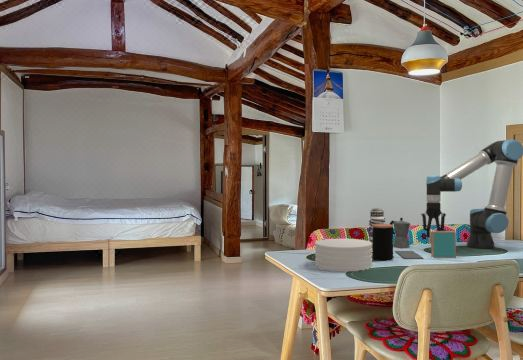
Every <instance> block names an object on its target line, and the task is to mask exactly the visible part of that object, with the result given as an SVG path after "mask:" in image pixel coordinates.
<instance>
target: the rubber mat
mask: <svg viewBox="0 0 523 360" xmlns="http://www.w3.org/2000/svg"><path fill="white" fill-rule="evenodd" d="M394 252H395V254H397V255H398V256H400V257H401V258H402V259H403V260H424V257H423V256H422V255H419V254H418V253H417V252H415V251H414V250H394Z"/></svg>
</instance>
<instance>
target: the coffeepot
mask: <svg viewBox="0 0 523 360" xmlns="http://www.w3.org/2000/svg"><path fill="white" fill-rule="evenodd" d="M399 219H400V220H398V221H396V220H391V221H390V223H389V224H390V225H393V227H392V229H393V235H395V237H394V240H393V248H395V249H396V248H397V249H408V248H410V241H409V237H408V234H409V229H410V227H411V223H410V222H408V221H404V220H403V217H400V218H399Z"/></svg>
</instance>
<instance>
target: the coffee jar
mask: <svg viewBox="0 0 523 360" xmlns="http://www.w3.org/2000/svg"><path fill="white" fill-rule="evenodd" d="M372 226H373V230H372V236H373V253H372V259H374V258H375V259H374V260H376V259H379V260H378V261H392V259H393V258H394V234H393V229H394V224H393V225H390V223H388V224H387V223H384V224H374V225H372ZM392 227H393V229H392Z"/></svg>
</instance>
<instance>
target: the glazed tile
mask: <svg viewBox="0 0 523 360" xmlns="http://www.w3.org/2000/svg"><path fill="white" fill-rule="evenodd" d="M430 232H431V244H430V245H431V247H430V249H431V251H430V252H431V258H432V257H433V258H432V259H434V258H435V259H442V258H443V259H456V258H457V252H456V251H457V247H456V246H457V245H456V244H457V243H456V242H457V241H456V240H457V239H456V238H457V237H456V236H457V232H456V231H455V230H443V231H437V230H435V231H434V230H432V231H431V230H430Z"/></svg>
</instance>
